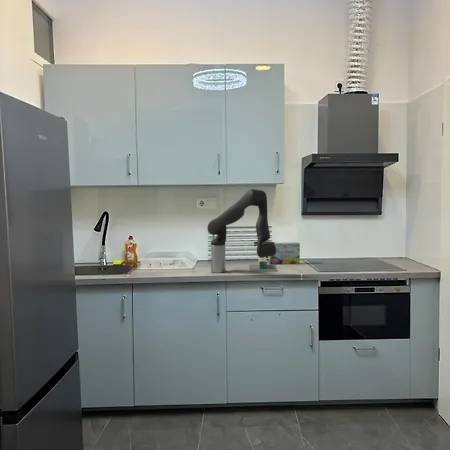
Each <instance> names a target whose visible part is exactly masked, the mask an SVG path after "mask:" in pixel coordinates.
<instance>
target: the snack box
mask: <svg viewBox="0 0 450 450" xmlns="http://www.w3.org/2000/svg"><path fill="white" fill-rule="evenodd" d="M300 244H301V243H300V242H298V241H297V242H296V241H294V242H286V241H285V242H275V247H276V254H275V255H274V256H270V257H268V264H275V265H300V264H301V263H300V262H301V261H300V260H301V259H300V258H301V257H300V253H301V246H300Z"/></svg>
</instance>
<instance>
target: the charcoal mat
mask: <svg viewBox="0 0 450 450" xmlns="http://www.w3.org/2000/svg"><path fill="white" fill-rule="evenodd" d="M276 265H277V264H269V263H267V269H259V264H249V265H248V267H249V268H248V271H249V273H272V272H273V273H275V272H276V273H278V272H279V270H278V268H277V266H276Z"/></svg>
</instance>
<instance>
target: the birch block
mask: <svg viewBox="0 0 450 450" xmlns="http://www.w3.org/2000/svg"><path fill="white" fill-rule="evenodd" d="M267 264H268V260H267V257H264V258H260V257H258V265H259V269H267Z"/></svg>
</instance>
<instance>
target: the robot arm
mask: <svg viewBox="0 0 450 450" xmlns="http://www.w3.org/2000/svg"><path fill="white" fill-rule="evenodd" d="M250 206H255V207H258V217H257V220H256V222H255V232H256V237H257V241H254V242H253V247H256V255H257V256H258V258H269V257H270V256H274V255H275V254H276V247H275V243H276V242H275V241H274V242H273V241H270V239H271V232H270V227H269V223H268V222H269V221H268V196H267V194H266V192H265V191H264V190H261V189H254V188H252V189H251V188H250V189H249V190H248V191H246V192H245V193H244V194H243V195H242V197H240V199H239V200H237V201H236V202H234V204H232V205H231V206H229V208H227V209H226V210H225V211H224V212H222V213H221V214H219V215H218V216H217V217H216V218H215V217H214V219H212V220H210V221H209V222H208V225H207V227H206V228H207V232H208V233H209V234H210V235H212V236H213V235H214V236H215V235H216V236H215V238H213V239H212V240H211V241H210V273H214V274H215V273H225V272H226V271H227V270H226V265H227V264H226V243H227V242H226V241H227V229H228V228H227V226H229V225H232V224H234V223H236V222H238V221H239V220H241V219H242V217H244V215H245V213H246V212H245V210H246V209H247V208H249V207H250Z"/></svg>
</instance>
